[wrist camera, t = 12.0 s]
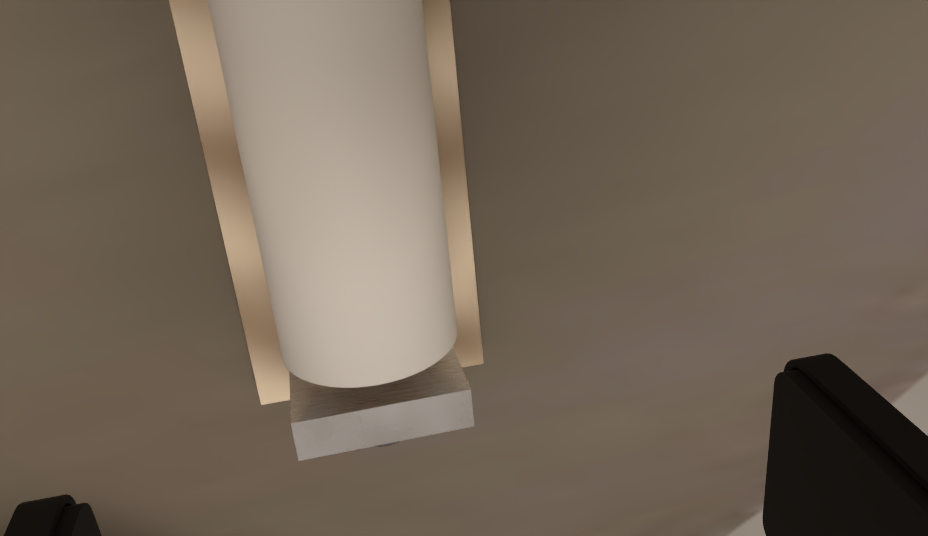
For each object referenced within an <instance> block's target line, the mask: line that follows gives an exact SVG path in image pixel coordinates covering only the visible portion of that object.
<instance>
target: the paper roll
mask: <svg viewBox="0 0 928 536" xmlns="http://www.w3.org/2000/svg"><path fill="white" fill-rule="evenodd" d="M208 5H209V10H210V14H211V19H212V24H213V29H214V34H215V38H216V43H217V48H218V53H219V57H220V62H221V67H222V72H223V77H224V81H225V86H226V91H227V96H228V101H229V105H230V110H231V115H232V120H233V124H234V129H235V134H236V139H237V144H238V148H239V153H240V158H241V163H242V167H243V172H244V177H245V182H246V187H247V191H248V196H249V201H250V206H251V210H252V215H253V220H254V225H255V230H256V234H257V239H258V244H259V249H260V253H261V258H262V263H263V268H264V273H265V277H266V282H267V287H268V292H269V297H270V301H271V306H272V311H273V316H274V320H275V325H276V330H277V335H278V340H279V344H280V349H281V354H282V359H283V362H284V364H285V366H286V367H287V369H288V370H289V371H290V372H291V373H293V374H294V375H295V376H297V377H299V378H300V379H302V380H305V381H308V382H310V383H314V384H318V385H322V386H329V387H340V388H356V387H368V386H374V385H381V384H385V383H390V382H394V381H397V380H400V379H404V378H406V377H409V376H412V375H414V374H417V373H419V372H421V371H423V370H425V369H427V368H428V367H430V366H432V365H433V364H435V363H436V362H438V361H439V360H440V359H442V358H443V357H444V356H445V355H446V354H447V353H448V352H449V350H450V349H451V348H452V347H453V345H454V343H455V341H456V337H457V325H456V315H455V306H454V296H453V287H452V277H451V268H450V259H449V249H448V240H447V230H446V221H445V212H444V202H443V193H442V183H441V174H440V164H439V155H438V146H437V136H436V127H435V117H434V108H433V99H432V89H431V80H430V70H429V61H428V52H427V42H426V33H425V23H424V14H423V4H422V0H208Z"/></svg>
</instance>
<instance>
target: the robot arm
mask: <svg viewBox="0 0 928 536" xmlns="http://www.w3.org/2000/svg"><path fill="white" fill-rule="evenodd" d="M763 526H764V530H765V533H766V536H928V436H927V435H926V434H925V433H923V432H922V431H921V430H920V429H919V428H918V427H917V426H915V425H914V424H913V423H912V422H911V421H910V420H909V419H907V418H906V417H905V416H904V415H903V414H902V413H900V412H899V411H898V410H897V409H896V408H895V407H894V406H892V405H891V404H890V403H889V402H888V401H887V400H886V399H884V398H883V397H882V396H881V395H880V394H879V393H877V392H876V391H875V390H874V389H873V388H872V387H871V386H869V385H868V384H867V383H866V382H865V381H864V380H862V379H861V378H860V377H859V376H858V375H857V374H856V373H854V372H853V371H852V370H851V369H850V368H849V367H847V366H846V365H845V364H844V363H843V362H842V361H841V360H839V359H838V358H837V357H836V356H834V355H832V354H827V353H826V354H821V355H815V356H810V357H805V358H799V359H794V360H791V361H789V362H787V364H786V366H785V369H784V372H780V373H779V374H777V376H776V378H775V382H774V393H773V404H772V416H771V427H770V439H769V451H768V462H767V474H766V485H765V497H764V508H763ZM4 536H101V533H100V530H99V528H98V525H97V522H96V519H95V516H94V514H93V511H92V509H91V507H90V505H89V504H88V503H81V504H76V502H75V500H74V499H73V498H72V497H71V496H70V495H61V496H56V497H50V498H45V499H40V500H34V501H29V502H23V503H21V504H19V505H18V506H17V508H16V510H15V511H14V514H13V516H12V518H11V520H10V523H9V525H8V527H7V530H6V532H5V534H4Z"/></svg>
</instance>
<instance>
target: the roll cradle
mask: <svg viewBox="0 0 928 536" xmlns="http://www.w3.org/2000/svg"><path fill="white" fill-rule="evenodd" d="M169 2H170V7H171V11H172V15H173V20H174V24H175V29H176V33H177V37H178V42H179V46H180V51H181V55H182V59H183V64H184V68H185V73H186V77H187V81H188V86H189V90H190V95H191V99H192V103H193V108H194V112H195V116H196V121H197V125H198V130H199V134H200V138H201V143H202V147H203V152H204V156H205V160H206V165H207V169H208V174H209V178H210V182H211V187H212V191H213V196H214V200H215V204H216V209H217V213H218V217H219V222H220V226H221V231H222V235H223V239H224V244H225V248H226V253H227V257H228V261H229V266H230V270H231V275H232V279H233V283H234V288H235V292H236V297H237V301H238V305H239V310H240V314H241V319H242V323H243V327H244V332H245V336H246V340H247V345H248V349H249V354H250V358H251V362H252V367H253V371H254V376H255V380H256V384H257V389H258V393H259V398H260V402H261V405H264V404H270V403H275V402H280V401H286V400H290V412H291V427H292V431H293V436H294V441H295V445H296V450H297V455H298V460H299V461H301V460H306V459H311V458H316V457H321V456H326V455H331V454H336V453H342V452H347V451H352V450H357V449H362V448H367V447H372V446H375V447H382V446H389V445H392V444H395V443H398V442H399V441H402V440H407V439H412V438H417V437H422V436H428V435H433V434H438V433H443V432H448V431H453V430H458V429H463V428H468V427H473V426H474V417H473V407H472V397H471V389H470V386H469V384H468V381H467V379H466V376H465V374H464V371H463V369H462V367H468V366H473V365H478V364H484V363H483V353H482V342H481V331H480V320H479V310H478V299H477V288H476V277H475V267H474V256H473V245H472V234H471V223H470V213H469V202H468V191H467V180H466V170H465V159H464V148H463V137H462V127H461V116H460V105H459V94H458V83H457V73H456V62H455V51H454V40H453V30H452V19H451V8H450V0H422V4H423V14H424V23H425V33H426V42H427V52H428V61H429V70H430V80H431V89H432V99H433V108H434V117H435V127H436V136H437V146H438V155H439V164H440V174H441V183H442V193H443V202H444V212H445V221H446V230H447V240H448V249H449V259H450V268H451V277H452V287H453V296H454V306H455V315H456V325H457V337H456V341H455V343H454V345H453V347H452V348H451V349H450V350H449V352H448V353H447V354H446V355H445V356H444V357H443V358H442V359H440V360H439V361H438V362H436V363H435V364H433V365H432V366H430V367H428V368H427V369H425V370H423V371H421V372H419V373H417V374H414V375H412V376H409V377H406V378H404V379H400V380H397V381H394V382H390V383H385V384H381V385H374V386H368V387H356V388H340V387H329V386H322V385H318V384H314V383H310V382H308V381H305V380H302V379H300V378H299V377H297V376H295V375H294V374H293V373H291V372H290V371H289V370H288V369H287V367H286V366H285V364H284V362H283V359H282V354H281V349H280V344H279V340H278V335H277V330H276V325H275V320H274V316H273V311H272V306H271V301H270V297H269V292H268V287H267V282H266V277H265V273H264V268H263V263H262V258H261V253H260V249H259V244H258V239H257V234H256V230H255V225H254V220H253V215H252V210H251V206H250V201H249V196H248V191H247V187H246V182H245V177H244V172H243V167H242V163H241V158H240V153H239V148H238V144H237V139H236V134H235V129H234V124H233V120H232V115H231V110H230V105H229V101H228V96H227V91H226V86H225V81H224V77H223V72H222V67H221V62H220V57H219V53H218V48H217V43H216V38H215V34H214V29H213V24H212V19H211V14H210V10H209V5H208V0H169Z"/></svg>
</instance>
